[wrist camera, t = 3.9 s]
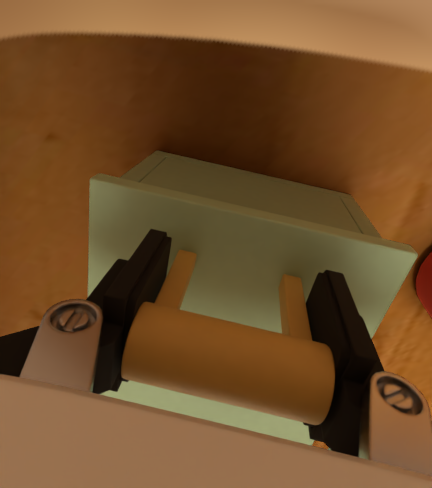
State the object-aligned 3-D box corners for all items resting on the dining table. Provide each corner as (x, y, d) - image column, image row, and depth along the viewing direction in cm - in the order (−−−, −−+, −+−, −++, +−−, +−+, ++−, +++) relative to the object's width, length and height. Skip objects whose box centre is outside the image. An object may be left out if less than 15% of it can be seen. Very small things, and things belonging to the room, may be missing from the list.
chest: (156, 149, 20) (99, 191, 13) (351, 194, 20) (400, 261, 13) (136, 324, 26) (91, 415, 19) (283, 359, 26) (291, 464, 19)
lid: (98, 172, 13) (-33, 253, 7) (410, 244, 12) (532, 387, 7) (91, 416, 19) (22, 555, 14) (291, 465, 19) (303, 626, 14)
